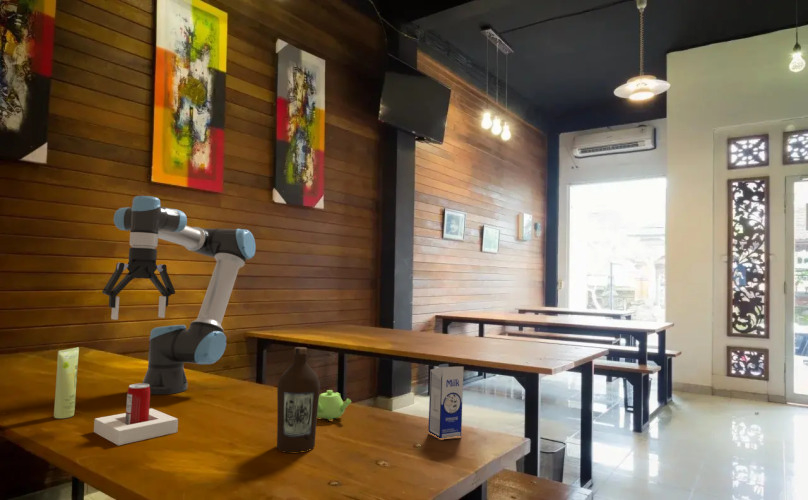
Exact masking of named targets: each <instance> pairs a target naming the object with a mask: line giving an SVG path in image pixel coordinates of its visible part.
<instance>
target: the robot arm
mask: <svg viewBox="0 0 808 500" xmlns="http://www.w3.org/2000/svg"><path fill="white" fill-rule="evenodd" d="M187 222H188V218H187V215H186V213H184V211H182V210H179V209H177V208H170V207H167V206H161V199H159V198H158V197H155V196H149V195H147V196H146V195H136V196H134V197H133V198H132V205H131V206H130V207H129V206H127V207H119V208H118V209H117V210H116V211H115V212H114V216H113V223H114V225H115V227H116V228H117V229H118V230H120V231H126V232H129V231H130V232H129V245H130V246H131V247H130V248H129V249H128V263H124V262H117V263H116V264H115V270H114V272H113V273H112V275H111V276H110V278H109V280H108V282H107V283H106V285H105V286H104V288H103V290H102V291H101V292H102V294H103V295H106V296H108V298H109V299H108V308H111V314H110V315H111V316H110V319H111V320H115V321H116V320H119V310H120V308H119V307H120V296H118V295H119V294H120V293H121V292H122V291H123V290H124V288H126V286H127V285H128V284H129V283H131V281H132V280H134V279H146V280H147V279H148V280H150V281H151V282H152V284H153V285H154V287H155V288H156V289H157V290H158V292H159V293H160V294H161V295H160V296H159V297H158V314H157V317H158V318H165V317H166V307H168V306H169V297H170V296H172V295H175V294H176V290H175V288H174V286H173V283H172V280H171V278H170V276H169V274H168V270H167V264H162V263H161V264H158V265H157V257H158V256H157V255H158V250H157V249H156V248H157V247H158V246H159V245H158V244H159V243H158V241H159V239H160V240H163V241H166V242H170V243H173V244H176V245H179V246H183V247H184V248H185V249H186V250H187V251H190V252H193V253H196V254H199V255H203V256H205V257H210V258H214V260H215V262H216V263H215V266H214V269H213V271H212V275H211V278H210V281H209V283H208V286H207V289H206V293H205V296H204V298H203V301H202V303H201V307H200V309H199V313H198V315H197V318H196V319H195V320H193V321H191V322H190V324H189V327H188V329H187V326H186V325H185V324H175V325H167V326H166V325H164V326H157V327H154V328H152V329H151V331H150V336H149V339H148V340H149V344H148V360H147V361H148V364H147V365H148V366H147V371H146V373H145V376H144V377H143V381H142V383H141V384H149V387H150V395H170V394H172V395H173V394H178V393H181V392H185V391H186V390H187V389H188V385H189V383H188V380H187V376H186V372H185V370H184V364H185V363H187V364H188V363H189V364H196V365H197V364H198V365H212V364H213V365H214V363H216V362H218V361H219V360H221V358H222V356H223V355H224V353H225V351H226V347H227V336H226V335H225V334H224V328H223V326H222V322H223V320H224V316H225V313H226V310H227V306H228V304H229V300H230V298H231V296H232V295H231V294H232V292H233V289H234V285H235V283H236V279H237V276H238V273H239V270H240V269H241V268H243V267H244V266H245V264H246V262H247V260H250V259H252V258H254V256H255V254H256V250H257V249H256V247H257V246H256V240H255V236H254V235H253V233H252V232H251V231H250V230H249V229H244V228H243V229H242V228H202V227H199V226H189V225H187V224H188V223H187ZM126 269H127V273H126V275H124V277H123V278H122V279H121V280H120V278H121V276H122V274H123V273H124V271H126ZM156 271H158V272H159V275H160V277H161V280H162V282H163V283H162V282H161V280H160V279H159V277H158V275H157V274H156V273H155V272H156ZM119 280H120V281H119ZM118 281H119V283H117V282H118ZM116 284H117V285H116Z"/></svg>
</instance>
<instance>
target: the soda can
mask: <svg viewBox="0 0 808 500" xmlns="http://www.w3.org/2000/svg"><path fill="white" fill-rule="evenodd" d="M126 393H127V394H126V404H125V405H126V407H125V413H126V420H125V424H127V425H131V424H136V423H141V422H146V421H148V420H149V409H150V403H151V402H150V401H151V394H150V387H149V384H142V383H134V384H129V386H128V389H127V391H126Z"/></svg>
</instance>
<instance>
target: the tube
mask: <svg viewBox="0 0 808 500" xmlns="http://www.w3.org/2000/svg"><path fill="white" fill-rule="evenodd" d="M79 352H80V347H79V346H77V347H73V348H68V349H62V350H58V351H57V362H56V379H55V381H56V382H55V395H54V405H53V406H54V409H53V417H54V418H55V419H67V418H71V417H73V416H74V415H75V409H76V408H75V407H76V393H77V392H76V391H77V378H78V365H79Z"/></svg>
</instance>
